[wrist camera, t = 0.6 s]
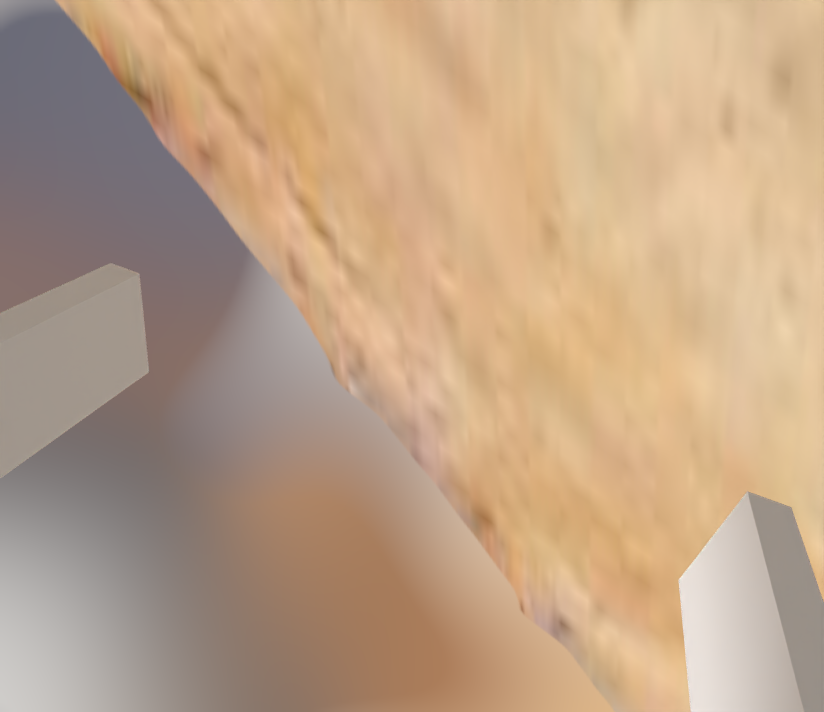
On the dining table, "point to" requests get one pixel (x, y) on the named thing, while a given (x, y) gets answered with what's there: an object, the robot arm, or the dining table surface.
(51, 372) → the robot arm
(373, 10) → the dining table surface
